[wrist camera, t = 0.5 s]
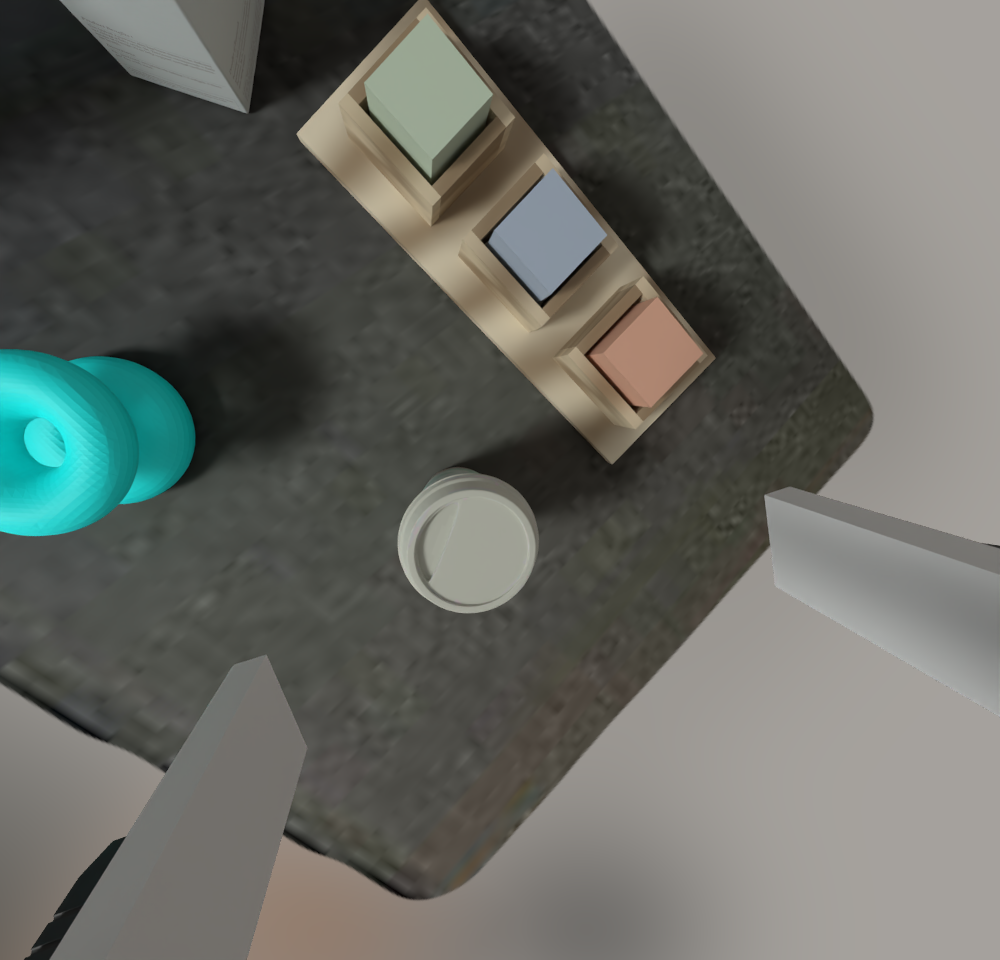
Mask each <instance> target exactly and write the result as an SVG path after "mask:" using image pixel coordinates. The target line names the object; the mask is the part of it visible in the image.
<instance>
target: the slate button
mask: <svg viewBox="0 0 1000 960" xmlns="http://www.w3.org/2000/svg"><path fill="white" fill-rule="evenodd" d="M606 236H607V234H606V233H605V231H604V230H603V229H602V228H601V227H600V225H599V224H598V223H597V222H596V220H595V219H594V218H593V217H592V215H591V214H590V213H589V212H588V211H587V209H586V208H585V207H584V206H583V204H582V203H581V202H580V201H579V199H578V198H577V197H576V196H575V194H574V193H573V192H572V191H571V190H570V188H569V187H568V186H567V185H566V183H565V182H564V181H563V180H562V178H561V177H560V176H559V175H558V174H557V172H556V171H555V170H554V169H553V168H552V169H551V170H550V171H549V172H548V173H547V175H546V176H545V177H544V178H543V179H542V180H541V181H540V182H539V183H538V184H537V185H536V186H535V187H534V188H533V189H532V191H531V192H530V193H529V194H528V195H527V196H526V197H525V198H524V199H523V200H522V201H521V202H520V203H519V204H518V205H517V206H516V208H515V209H514V210H513V211H512V212H511V213H510V214H509V215H508V216H507V217H506V218H505V219H504V220H503V221H502V222H501V223H500V225H499V226H498V227H497V228H496V229H495V230H494V232H493V234H492V236H491V238H490V240H489V242H488V244H487V246H486V247H487V248H488V249H489V251H490V252H491V253H492V254H493V255H494V256H495V257H496V258H497V259H498V261H499V262H500V263H501V264H502V265H503V266H504V267H505V268H506V269H507V271H508V272H509V273H510V274H511V275H512V276H513V277H514V278H515V279H516V281H517V282H518V283H519V284H520V285H521V286H522V287H523V288H524V289H525V291H526V292H527V293H528V294H529V295H530V296H531V297H532V298H533V299H534V301H535V302H536V303H539V302H540V301H542V300H543V299H545V298H546V297H548V296H549V295H551V294H552V293H553V292H554V291H555V290H556V289H557V288H558V286H559V285H560V284H561V283H562V282H563V281H564V280H565V279H566V278H567V277H568V276H569V275H570V274H571V273H572V272H573V271H574V270H575V269H576V268H577V266H578V265H579V264H580V263H581V262H582V261H583V260H584V259H585V258H586V257H587V256H588V255H589V254H590V253H591V252H592V251H593V250H594V249H595V248H596V247H597V245H598V244H599V243H600V242H601V241H602V240H603V239H604V238H605V237H606Z"/></svg>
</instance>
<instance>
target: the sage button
mask: <svg viewBox="0 0 1000 960" xmlns="http://www.w3.org/2000/svg"><path fill="white" fill-rule="evenodd" d="M364 85H365V91H366V96H367V101H368V106H369V112H370V117H371V119H372V120H373V122H374V123H375V124H376V125H377V126H378V127H379V128H380V129H381V130H382V132H383V133H384V134H385V135H386V136H387V137H388V138H389V139H390V140H391V142H392V143H393V144H394V145H395V146H396V147H397V148H398V149H399V150H400V152H401V153H402V154H403V155H404V156H405V157H406V158H407V159H408V160H409V162H410V163H411V164H412V165H413V166H414V167H415V168H416V169H417V170H418V172H419V173H420V174H421V175H422V176H423V177H424V178H425V179H426V180H427V182H428V183H429V184H430V185H431V186H432V185H433V184H434V183H435V182H436V181H437V180H438V179H439V178H440V177H441V176H442V175H443V174H444V172H445V171H446V170H447V169H448V168H449V167H450V166H451V165H452V164H453V163H454V162H455V161H456V160H457V159H458V157H459V156H460V155H461V154H462V153H463V152H464V151H465V150H466V149H467V148H468V147H469V146H470V145H471V143H472V142H473V141H474V140H475V139H476V138H477V137H478V136H479V135H480V134H481V133H482V132H483V131H484V129H485V125H486V121H487V117H488V113H489V109H490V105H491V101H492V97H493V93H492V92H491V91H490V90H489V89H488V87H487V86H486V85H485V84H484V82H483V81H482V80H481V79H480V77H479V76H478V75H477V74H476V72H475V71H474V70H473V69H472V68H471V66H470V65H469V64H468V63H467V61H466V60H465V59H464V58H463V56H462V55H461V54H460V53H459V52H458V50H457V49H456V48H455V47H454V45H453V44H452V43H451V42H450V40H449V39H448V38H447V37H446V36H445V34H444V33H443V32H442V31H441V29H440V28H439V27H438V26H437V24H436V23H435V22H434V21H433V19H432V18H431V17H430V16H429V15H428V13H427V15H426V16H425V17H424V18H423V19H422V20H421V21H420V22H419V23H418V24H417V25H416V27H415V28H414V29H413V30H412V31H411V32H410V33H409V34H408V35H407V36H406V38H405V39H404V40H403V41H402V42H401V43H400V44H399V45H398V46H397V47H396V48H395V50H394V51H393V52H392V53H391V54H390V55H389V56H388V57H387V58H386V59H385V60H384V62H383V63H382V64H381V65H380V66H379V67H378V68H377V69H376V70H375V71H374V72H373V74H372V75H371V76H370V77H369V78H368V79H367V80H366V81H365V82H364Z"/></svg>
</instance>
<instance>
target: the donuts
mask: <svg viewBox="0 0 1000 960" xmlns="http://www.w3.org/2000/svg"><path fill="white" fill-rule="evenodd" d="M25 445H26V446H25ZM26 447H27V449H26ZM194 449H195V428H194V423H193V419H192V416H191V414H190V411H189V409H188V407H187V405H186V403H185V402H184V400H183V399H182V397H181V396H180V394H179V393H178V392H177V391H176V390H175V389H174V387H173V386H172V385H171V384H169V383H168V382H167V381H166V380H165V379H164V378H162V377H161V376H160V375H158V374H157V373H155V372H153V371H152V370H150V369H148V368H146V367H144V366H142V365H140V364H137V363H135V362H132V361H128V360H125V359H120V358H115V357H105V356H92V357H83V358H78V359H74V360H71V361H66V360H63V359H61V358H58V357H55V356H52V355H49V354H45V353H41V352H35V351H28V350H17V349H0V531H2V532H6V533H11V534H17V535H26V536H46V535H56V534H63V533H67V532H71V531H75V530H78V529H81V528H83V527H86V526H88V525H90V524H92V523H94V522H96V521H98V520H100V519H101V518H103V517H104V516H106V515H107V514H108V513H110V512H111V511H112V510H113V509H114V508H115V507H116V506H117V505H118V504H129V503H136V502H140V501H144V500H147V499H150V498H153V497H155V496H157V495H159V494H161V493H163V492H165V491H166V490H168V489H169V488H170V487H172V486H173V485H174V484H175V483H176V482H177V481H178V480H179V479H180V478H181V477H182V475H183V474H184V473H185V471H186V470H187V468H188V466H189V464H190V462H191V460H192V457H193V453H194Z"/></svg>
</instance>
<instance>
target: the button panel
mask: <svg viewBox="0 0 1000 960" xmlns="http://www.w3.org/2000/svg"><path fill="white" fill-rule="evenodd" d="M427 13H428V15H429V16H430V17H431V18H432V19H433V21H434V22H435V23H436V24H437V26H438V27H439V28H440V29H441V31H442V32H443V33H444V34H445V36H446V37H447V38H448V39H449V40H450V42H451V43H452V44H453V45H454V47H455V48H456V49H457V50H458V52H459V53H460V54H461V55H462V56H463V58H464V59H465V60H466V61H467V63H468V64H469V65H470V66H471V68H472V69H473V70H474V71H475V72H476V74H477V75H478V76H479V77H480V79H481V80H482V81H483V82H484V84H485V85H486V86H487V87H488V89H489V90H490V91H491V92H492V93H493V97H492V101H491V105H490V109H489V113H488V117H487V121H486V125H485V129H484V131H483V132H482V133H481V134H480V135H479V136H478V137H477V138H476V139H475V140H474V141H473V142H472V143H471V145H470V146H469V147H468V148H467V149H466V150H465V151H464V152H463V153H462V154H461V155H460V156H459V157H458V159H457V160H456V161H455V162H454V163H453V164H452V165H451V166H450V167H449V168H448V169H447V170H446V171H445V172H444V174H443V175H442V176H441V177H440V178H439V179H438V180H437V181H436V182H435V183H434V184H433V185H432V186H431V185H430V184H429V183H428V182H427V180H426V179H425V178H424V177H423V176H422V175H421V174H420V173H419V172H418V170H417V169H416V168H415V167H414V166H413V165H412V164H411V163H410V162H409V160H408V159H407V158H406V157H405V156H404V155H403V154H402V153H401V152H400V150H399V149H398V148H397V147H396V146H395V145H394V144H393V143H392V142H391V140H390V139H389V138H388V137H387V136H386V135H385V134H384V133H383V132H382V130H381V129H380V128H379V127H378V126H377V125H376V124H375V123H374V122H373V120H372V119H371V117H370V112H369V106H368V101H367V96H366V91H365V85H364V82H365V81H366V80H367V79H368V78H369V77H370V76H371V75H372V74H373V72H374V71H375V70H376V69H377V68H378V67H379V66H380V65H381V64H382V63H383V62H384V60H385V59H386V58H387V57H388V56H389V55H390V54H391V53H392V52H393V51H394V50H395V48H396V47H397V46H398V45H399V44H400V43H401V42H402V41H403V40H404V39H405V38H406V36H407V35H408V34H409V33H410V32H411V31H412V30H413V29H414V28H415V27H416V25H417V24H418V23H419V22H420V21H421V20H422V19H423V18H424V17H425V16H426V15H427ZM297 136H298V138H299V140H300V141H301V142H302V143H303V144H304V146H305V147H306V148H307V149H308V150H309V151H310V152H311V153H312V154H313V155H314V156H315V157H316V158H317V159H318V160H319V161H320V162H321V163H322V164H323V165H324V166H325V167H326V168H327V170H328V171H329V172H330V173H331V174H332V175H333V176H334V177H335V178H336V179H337V180H338V181H339V182H340V183H341V184H342V185H343V186H344V187H345V188H346V189H347V190H348V191H349V193H350V194H351V195H352V196H353V197H354V198H355V199H356V200H357V201H358V202H359V203H360V204H361V205H362V206H363V207H364V208H365V209H366V210H367V211H368V212H369V213H370V214H371V216H372V217H373V218H374V219H375V220H376V221H377V222H378V223H379V224H380V225H381V226H382V227H383V228H384V229H385V230H386V231H387V232H388V233H389V234H390V235H391V236H392V237H393V239H394V240H395V241H396V242H397V243H398V244H399V245H400V246H401V247H402V248H403V249H404V250H405V251H406V252H407V253H408V254H409V255H410V256H411V257H412V258H413V259H414V260H415V262H416V263H417V264H418V265H419V266H420V267H421V268H422V269H423V270H424V271H425V272H426V273H427V274H428V275H429V276H430V277H431V278H432V279H433V280H434V281H435V282H436V283H437V285H438V286H439V287H440V288H441V289H442V290H443V291H444V292H445V293H446V294H447V295H448V296H449V297H450V298H451V299H452V300H453V301H454V302H455V303H456V304H457V305H458V306H459V308H460V309H461V310H462V311H463V312H464V313H465V314H466V315H467V316H468V317H469V318H470V319H471V320H472V321H473V322H474V323H475V324H476V325H477V326H478V327H479V328H480V329H481V330H482V332H483V333H484V334H485V335H486V336H487V337H488V338H489V339H490V340H491V341H492V342H493V343H494V344H495V345H496V346H497V347H498V348H499V349H500V350H501V351H502V352H503V353H504V355H505V356H506V357H507V358H508V359H509V360H510V361H511V362H512V363H513V364H514V365H515V366H516V367H517V368H518V369H519V370H520V371H521V372H522V373H523V374H524V375H525V376H526V378H527V379H528V380H529V381H530V382H531V383H532V384H533V385H534V386H535V387H536V388H537V389H538V390H539V391H540V392H541V393H542V394H543V395H544V396H545V397H546V398H547V399H548V401H549V402H550V403H551V404H552V405H553V406H554V407H555V408H556V409H557V410H558V411H559V412H560V413H561V414H562V415H563V416H564V417H565V418H566V419H567V420H568V421H569V422H570V424H571V425H572V426H573V427H574V428H575V429H576V430H577V431H578V432H579V433H580V434H581V435H582V436H583V437H584V438H585V439H586V440H587V441H588V442H589V443H590V444H591V445H592V447H593V448H594V449H595V450H596V451H597V452H598V453H599V454H600V455H601V456H602V457H603V458H604V459H605V460H606V461H607V462H608V463H610V464H613V463H614V462H615V461H616V460H617V459H618V458H619V457H620V456H621V455H622V454H623V453H624V452H625V451H626V450H627V449H628V448H629V447H630V446H631V445H632V444H633V443H634V442H635V441H636V440H637V439H638V438H639V437H640V436H641V434H642V433H643V432H644V431H645V430H646V429H647V428H648V427H649V426H650V425H651V424H652V423H653V422H654V421H655V420H656V419H657V418H658V417H659V416H660V415H661V414H662V413H663V412H664V411H665V410H666V409H667V408H668V407H669V406H670V405H671V404H672V403H673V402H674V401H675V400H676V398H677V397H678V396H679V395H680V394H681V393H682V392H683V391H684V390H685V389H686V388H687V387H688V386H689V385H690V384H691V383H692V382H693V381H694V380H695V379H696V378H697V377H698V376H699V375H700V374H701V373H702V372H703V371H704V370H705V369H706V368H707V367H708V366H709V365H710V364H711V362H712V361H713V360H714V359H715V356H714V355H713V354H712V353H711V351H710V350H709V349H708V348H707V346H706V345H705V344H704V343H703V342H702V340H701V339H700V338H699V337H698V335H697V334H696V333H695V332H694V330H693V329H692V328H691V327H690V325H689V324H688V323H687V322H686V320H685V319H684V318H683V317H682V315H681V314H680V313H679V312H678V310H677V309H676V308H675V307H674V306H673V304H672V303H671V302H670V301H669V299H668V298H667V297H666V296H665V294H664V293H663V292H662V291H661V289H660V288H659V287H658V286H657V284H656V283H655V282H654V281H653V279H652V278H651V277H650V276H649V274H648V273H647V272H646V271H645V269H644V268H643V267H642V266H641V265H640V263H639V262H638V261H637V260H636V258H635V257H634V256H633V255H632V253H631V252H630V251H629V250H628V248H627V247H626V246H625V245H624V243H623V242H622V241H621V240H620V238H619V237H618V236H617V235H616V233H615V232H614V231H613V230H612V228H611V227H610V226H609V225H608V224H607V222H606V221H605V220H604V219H603V217H602V216H601V215H600V214H599V212H598V211H597V210H596V209H595V207H594V206H593V205H592V204H591V202H590V201H589V200H588V199H587V197H586V196H585V195H584V194H583V192H582V191H581V190H580V189H579V188H578V186H577V185H576V184H575V183H574V181H573V180H572V179H571V178H570V176H569V175H568V174H567V173H566V171H565V170H564V169H563V168H562V166H561V165H560V164H559V163H558V161H557V160H556V159H555V158H554V156H553V155H552V154H551V153H550V151H549V150H548V149H547V148H546V147H545V145H544V144H543V143H542V142H541V140H540V139H539V138H538V137H537V135H536V134H535V133H534V132H533V130H532V129H531V128H530V127H529V125H528V124H527V123H526V122H525V120H524V119H523V118H522V117H521V115H520V114H519V113H518V112H517V111H516V109H515V108H514V107H513V106H512V104H511V103H510V102H509V101H508V99H507V98H506V97H505V96H504V94H503V93H502V92H501V91H500V89H499V88H498V87H497V86H496V84H495V83H494V82H493V81H492V79H491V78H490V77H489V76H488V74H487V73H486V72H485V71H484V70H483V68H482V67H481V66H480V65H479V63H478V62H477V61H476V60H475V58H474V57H473V56H472V55H471V53H470V52H469V51H468V50H467V48H466V47H465V46H464V45H463V43H462V42H461V41H460V40H459V38H458V37H457V36H456V35H455V34H454V32H453V31H452V30H451V29H450V27H449V26H448V25H447V24H446V22H445V21H444V20H443V19H442V17H441V16H440V15H439V14H438V12H437V11H436V10H435V9H434V7H433V6H432V5H431V4H430V2H429V1H428V0H418V1H417V2H416V3H415V4H414V6H413V7H412V8H411V9H410V10H409V11H408V12H407V13H406V14H405V15H404V17H403V18H402V19H401V20H400V21H399V22H398V23H397V24H396V25H395V26H394V27H393V29H392V30H391V31H390V32H389V33H388V34H387V35H386V36H385V37H384V38H383V39H382V41H381V42H380V43H379V44H378V45H377V46H376V47H375V48H374V49H373V50H372V52H371V53H370V54H369V55H368V56H367V57H366V58H365V59H364V60H363V61H362V62H361V64H360V65H359V66H358V67H357V68H356V69H355V70H354V71H353V72H352V73H351V75H350V76H349V77H348V78H347V79H346V80H345V81H344V82H343V83H342V84H341V85H340V87H339V88H338V89H337V90H336V91H335V92H334V93H333V94H332V95H331V96H330V98H329V99H328V100H327V101H326V102H325V103H324V104H323V105H322V106H321V107H320V108H319V110H318V111H317V112H316V113H315V114H314V115H313V116H312V117H311V118H310V119H309V121H308V122H307V123H306V124H305V125H304V126H303V127H302V128H301V129H300V130H299V131H298V133H297ZM552 168H553V169H554V170H555V171H556V172H557V174H558V175H559V176H560V177H561V178H562V180H563V181H564V182H565V183H566V185H567V186H568V187H569V188H570V190H571V191H572V192H573V193H574V194H575V196H576V197H577V198H578V199H579V201H580V202H581V203H582V204H583V206H584V207H585V208H586V209H587V211H588V212H589V213H590V214H591V215H592V217H593V218H594V219H595V220H596V222H597V223H598V224H599V225H600V227H601V228H602V229H603V230H604V231H605V233H606V234H607V236H606V237H605V238H604V239H603V240H602V241H601V242H600V243H599V244H598V245H597V247H596V248H595V249H594V250H593V251H592V252H591V253H590V254H589V255H588V256H587V257H586V258H585V259H584V260H583V261H582V262H581V263H580V264H579V265H578V266H577V268H576V269H575V270H574V271H573V272H572V273H571V274H570V275H569V276H568V277H567V278H566V279H565V280H564V281H563V282H562V283H561V284H560V285H559V286H558V288H557V289H556V290H555V291H554V292H553V293H552V294H551V295H549V296H548V297H546V298H545V299H543V300H542V301H540V302H539V303H536V302H535V301H534V299H533V298H532V297H531V296H530V295H529V294H528V293H527V292H526V291H525V289H524V288H523V287H522V286H521V285H520V284H519V283H518V282H517V281H516V279H515V278H514V277H513V276H512V275H511V274H510V273H509V272H508V271H507V269H506V268H505V267H504V266H503V265H502V264H501V263H500V262H499V261H498V259H497V258H496V257H495V256H494V255H493V254H492V253H491V252H490V251H489V249H488V248H487V247H486V246H487V244H488V242H489V240H490V238H491V236H492V234H493V232H494V230H495V229H496V228H497V227H498V226H499V225H500V223H501V222H502V221H503V220H504V219H505V218H506V217H507V216H508V215H509V214H510V213H511V212H512V211H513V210H514V209H515V208H516V206H517V205H518V204H519V203H520V202H521V201H522V200H523V199H524V198H525V197H526V196H527V195H528V194H529V193H530V192H531V191H532V189H533V188H534V187H535V186H536V185H537V184H538V183H539V182H540V181H541V180H542V179H543V178H544V177H545V176H546V175H547V173H548V172H549V171H550V170H551V169H552ZM655 297H658V298H659V299H660V300H661V302H662V303H663V304H664V305H665V307H666V308H667V309H668V310H669V312H670V313H671V314H672V315H673V316H674V318H675V319H676V320H677V321H678V323H679V324H680V325H681V326H682V328H683V329H684V330H685V331H686V333H687V334H688V335H689V336H690V337H691V339H692V340H693V341H694V342H695V344H696V345H697V346H698V347H699V349H700V350H701V351H702V352H703V353H704V354H703V355H702V356H701V357H700V358H699V359H698V360H697V361H696V362H695V363H694V364H693V365H692V366H691V367H690V368H689V369H688V370H687V371H686V372H685V373H684V374H683V375H682V376H681V377H680V378H679V379H678V380H677V381H676V382H675V383H674V384H673V385H672V387H671V388H670V389H669V390H668V391H667V392H666V393H665V394H664V395H663V396H662V397H661V398H660V399H659V400H658V401H657V402H656V403H655V404H654V405H653V406H652V407H642V406H633V405H628V404H627V403H626V402H625V401H624V399H623V398H622V397H621V396H620V395H619V394H618V393H617V392H616V391H615V389H614V388H613V387H612V386H611V385H610V384H609V383H608V382H607V381H606V379H605V378H604V377H603V376H602V375H601V374H600V373H599V372H598V371H597V369H596V368H595V367H594V366H593V365H592V364H591V363H590V362H589V361H588V359H587V358H586V357H585V356H584V355H585V354H586V353H587V352H588V351H589V349H590V348H591V347H592V346H593V345H594V344H595V343H596V342H597V341H598V340H599V339H600V338H601V337H602V336H603V335H604V334H605V333H606V332H607V331H608V330H609V329H610V328H611V327H612V325H613V324H614V323H615V322H616V321H617V320H618V319H619V318H620V317H621V316H622V315H623V314H624V313H625V312H626V311H627V310H628V309H629V308H630V307H631V306H633V305H636V304H639V303H641V302H644V301H647V300H650V299H652V298H655Z"/></svg>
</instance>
